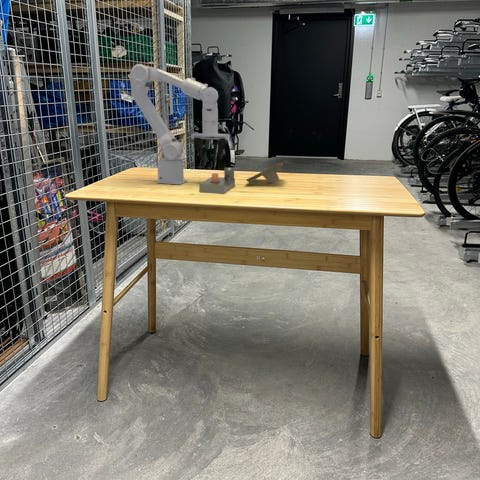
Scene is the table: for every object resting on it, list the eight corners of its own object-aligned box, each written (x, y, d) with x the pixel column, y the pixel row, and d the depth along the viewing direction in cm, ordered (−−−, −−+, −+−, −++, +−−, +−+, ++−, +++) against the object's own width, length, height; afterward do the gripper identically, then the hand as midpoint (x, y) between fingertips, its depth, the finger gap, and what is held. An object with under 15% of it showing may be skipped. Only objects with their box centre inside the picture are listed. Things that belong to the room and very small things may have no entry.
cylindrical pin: (212, 189, 152) (212, 173, 150) (218, 190, 151) (218, 173, 149) (211, 191, 149) (211, 174, 148) (217, 191, 149) (217, 174, 147)
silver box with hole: (199, 192, 148) (198, 172, 145) (212, 184, 161) (211, 166, 158) (224, 193, 145) (224, 173, 143) (235, 186, 158) (235, 167, 156)
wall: (258, 198, 157) (290, 172, 154) (243, 180, 157) (274, 153, 154) (262, 196, 173) (291, 172, 170) (249, 179, 173) (277, 155, 170)
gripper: (187, 121, 154) (189, 159, 159) (225, 122, 151) (225, 160, 155) (194, 120, 161) (195, 156, 165) (231, 121, 157) (231, 158, 162)
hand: (210, 158), depth 161 cm, fingers open, 7 cm apart
